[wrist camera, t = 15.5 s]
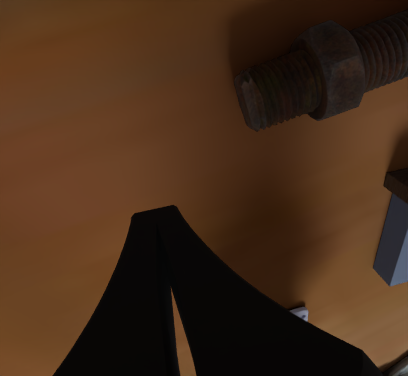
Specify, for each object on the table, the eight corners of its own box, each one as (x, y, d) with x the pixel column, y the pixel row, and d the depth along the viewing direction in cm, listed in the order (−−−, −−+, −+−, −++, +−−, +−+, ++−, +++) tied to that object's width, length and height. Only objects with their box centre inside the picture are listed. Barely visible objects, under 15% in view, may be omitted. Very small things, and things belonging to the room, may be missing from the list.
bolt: (221, 72, 20) (456, -14, 20) (249, 152, 20) (479, 68, 20) (232, 35, 14) (564, -87, 14) (271, 148, 14) (594, 29, 14)
